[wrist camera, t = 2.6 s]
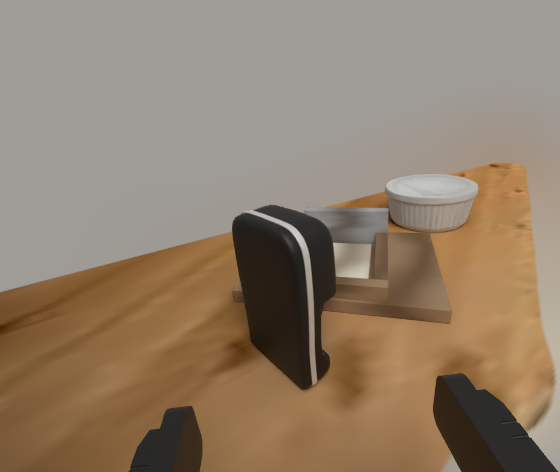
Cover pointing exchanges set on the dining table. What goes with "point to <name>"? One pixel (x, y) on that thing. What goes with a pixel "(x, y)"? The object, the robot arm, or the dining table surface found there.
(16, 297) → the dining table surface
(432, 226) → the ramekin
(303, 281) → the battery charger
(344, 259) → the rail board
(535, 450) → the robot arm
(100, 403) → the dining table surface
